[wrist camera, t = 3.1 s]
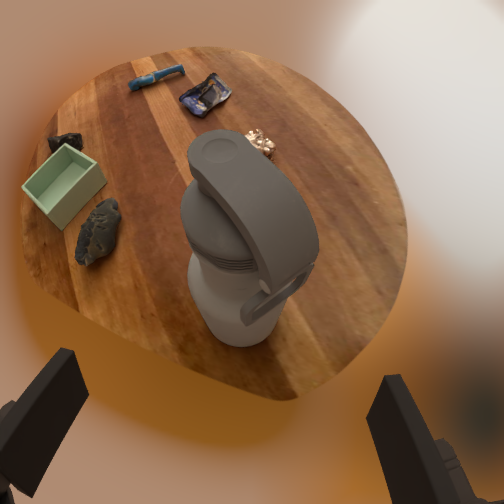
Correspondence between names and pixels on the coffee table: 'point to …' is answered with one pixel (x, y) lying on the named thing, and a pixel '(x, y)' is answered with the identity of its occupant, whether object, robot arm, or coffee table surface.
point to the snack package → (205, 95)
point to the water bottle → (243, 237)
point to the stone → (98, 233)
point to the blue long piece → (154, 77)
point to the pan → (64, 184)
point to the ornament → (261, 142)
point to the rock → (65, 141)
